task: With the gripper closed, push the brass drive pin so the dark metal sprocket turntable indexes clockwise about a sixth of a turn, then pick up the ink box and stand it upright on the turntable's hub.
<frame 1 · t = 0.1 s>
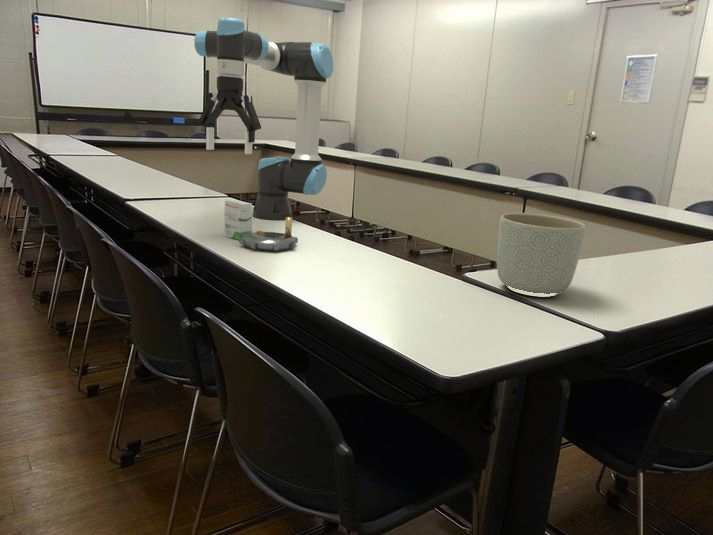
hand: (229, 151, 170), 28 cm above the table, fingers open, 13 cm apart
sprocket: (269, 231, 177), point 5 cm above the table, hinge at 0.0°
ink box: (237, 238, 186), on the table
planter: (531, 292, 151), on the table
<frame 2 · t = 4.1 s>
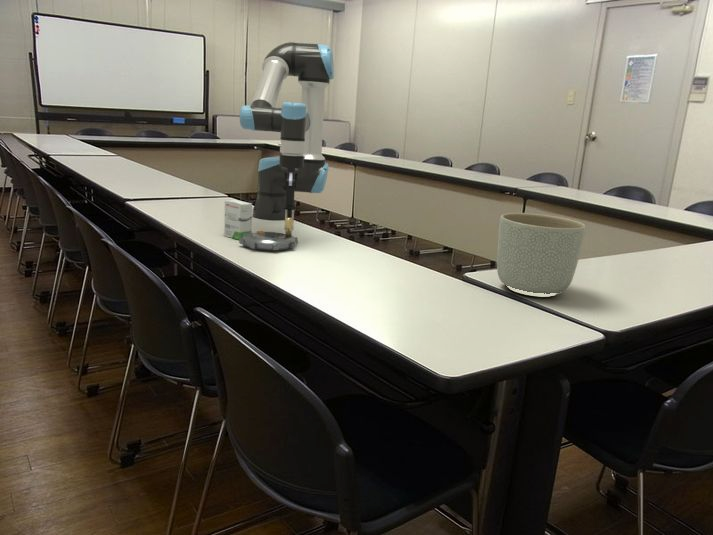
hand: (288, 229, 183), 4 cm above the table, fingers closed
sprocket: (269, 231, 177), point 5 cm above the table, hinge at -1.1°, touching gripper
everything else where it was.
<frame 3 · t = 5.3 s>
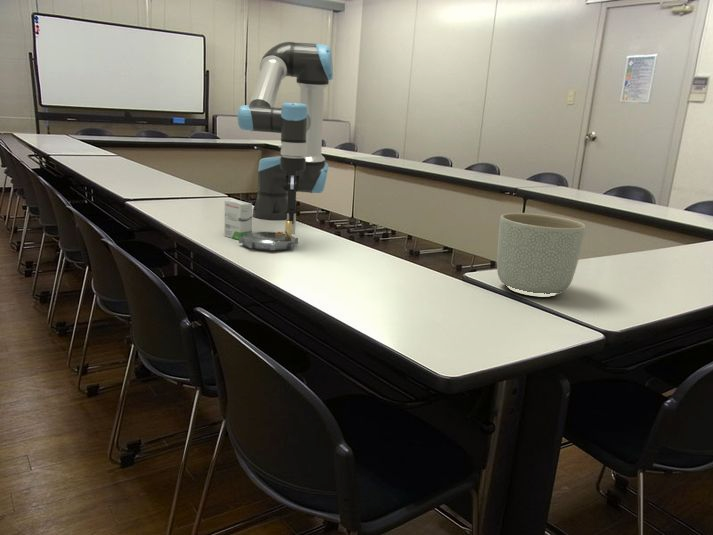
hand: (290, 233, 178), 4 cm above the table, fingers closed
sprocket: (269, 231, 177), point 5 cm above the table, hinge at -52.2°, touching gripper
everything else where it was.
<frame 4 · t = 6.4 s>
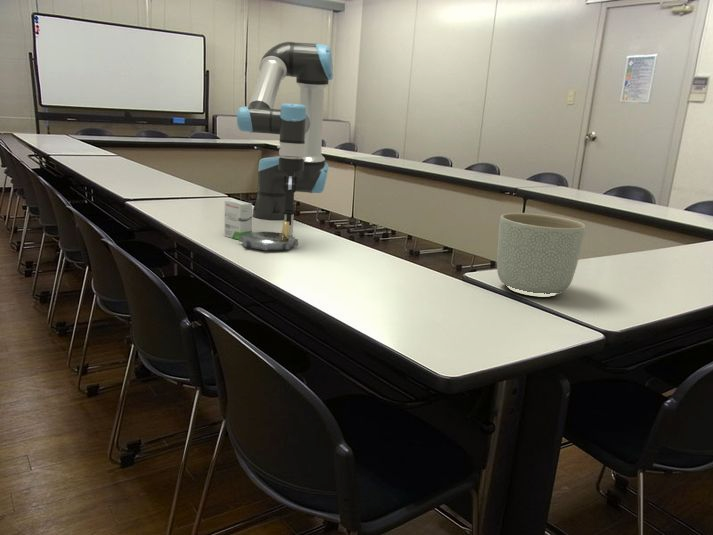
hand: (288, 234, 177), 4 cm above the table, fingers closed
sprocket: (269, 231, 177), point 5 cm above the table, hinge at -65.9°
everything else where it was.
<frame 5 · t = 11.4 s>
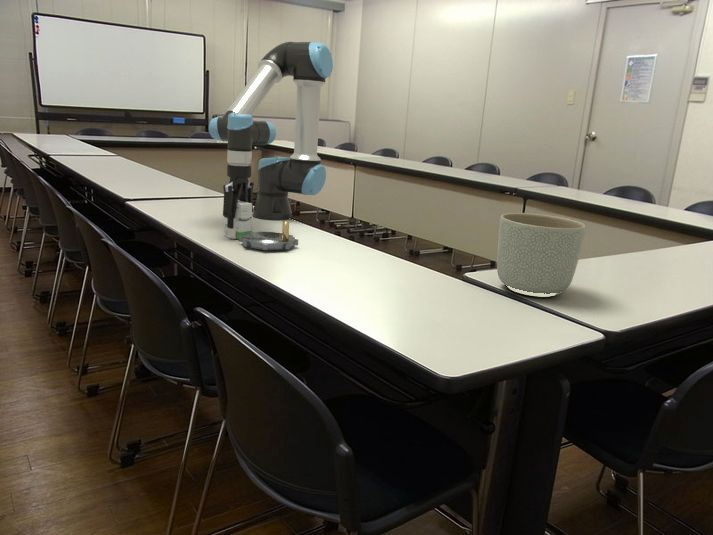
hand: (237, 236, 186), 0 cm above the table, fingers closed on ink box, 6 cm apart
ink box: (237, 238, 186), on the table, touching gripper
everything else where it was.
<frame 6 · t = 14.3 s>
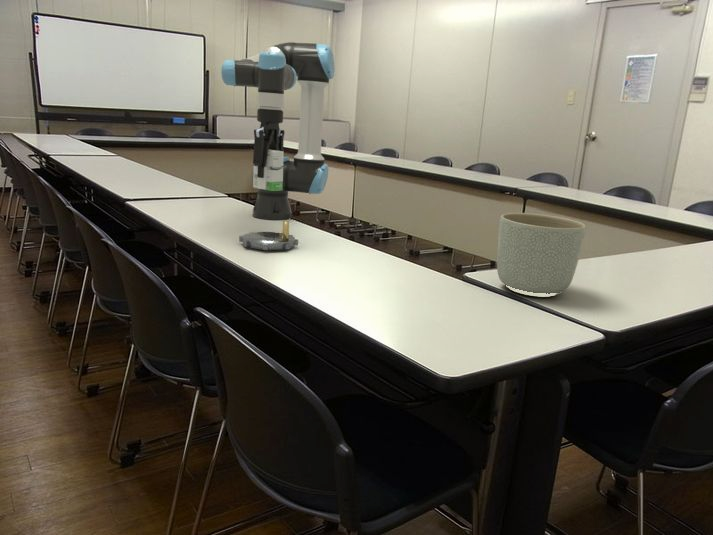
hand: (267, 187, 173), 18 cm above the table, fingers closed on ink box, 6 cm apart
ink box: (267, 189, 174), point 17 cm above the table, touching gripper
everything else where it was.
when the fingers open (4 cm above the table, at t = 17.0 s): ink box stays where it is, resting on sprocket.
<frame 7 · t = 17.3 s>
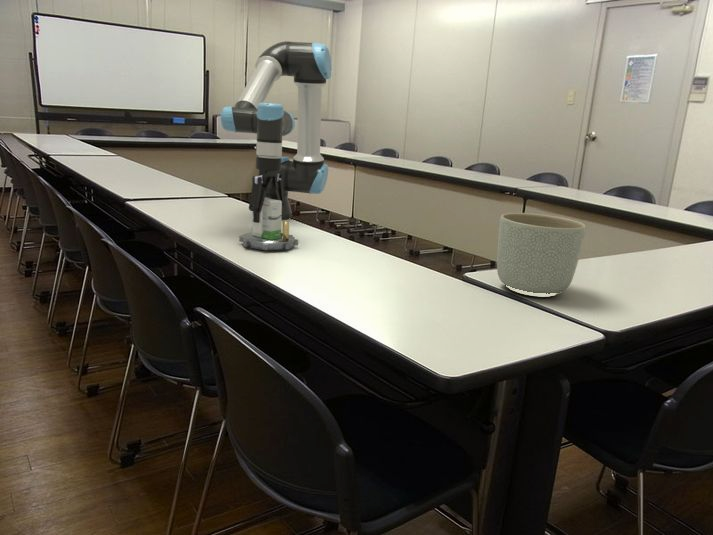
hand: (266, 230, 177), 5 cm above the table, fingers open, 9 cm apart
sprocket: (269, 231, 177), point 5 cm above the table, hinge at -65.9°, touching ink box
ink box: (266, 237, 177), point 3 cm above the table, touching sprocket
everything else where it was.
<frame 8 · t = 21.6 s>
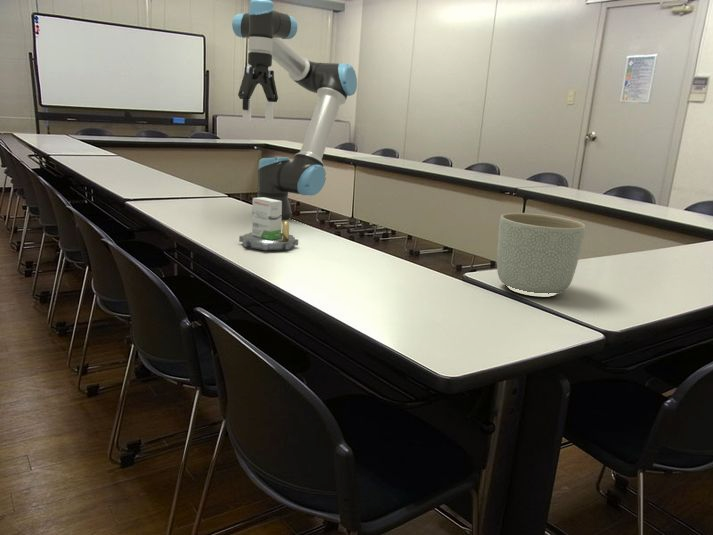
hand: (258, 121, 188), 37 cm above the table, fingers open, 13 cm apart
nothing on the table moved.
at the end: sprocket at -66° (first picture: +0°); ink box inside the target area on the sprocket (0.1 cm from its centre), point 2.6 cm above the sprocket's base; ink box tilted 0° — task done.
